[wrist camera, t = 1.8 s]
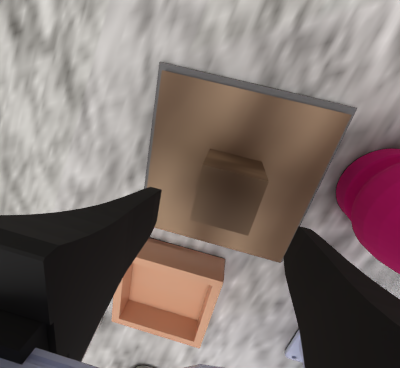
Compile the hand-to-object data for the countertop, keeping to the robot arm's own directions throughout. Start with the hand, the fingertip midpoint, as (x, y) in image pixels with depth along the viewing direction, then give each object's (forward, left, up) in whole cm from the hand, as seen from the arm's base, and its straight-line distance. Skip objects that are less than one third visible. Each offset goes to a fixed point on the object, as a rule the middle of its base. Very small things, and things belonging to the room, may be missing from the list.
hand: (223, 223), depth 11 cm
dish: (+3, +14, -8) cm, 16 cm away
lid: (0, 0, -7) cm, 7 cm away
